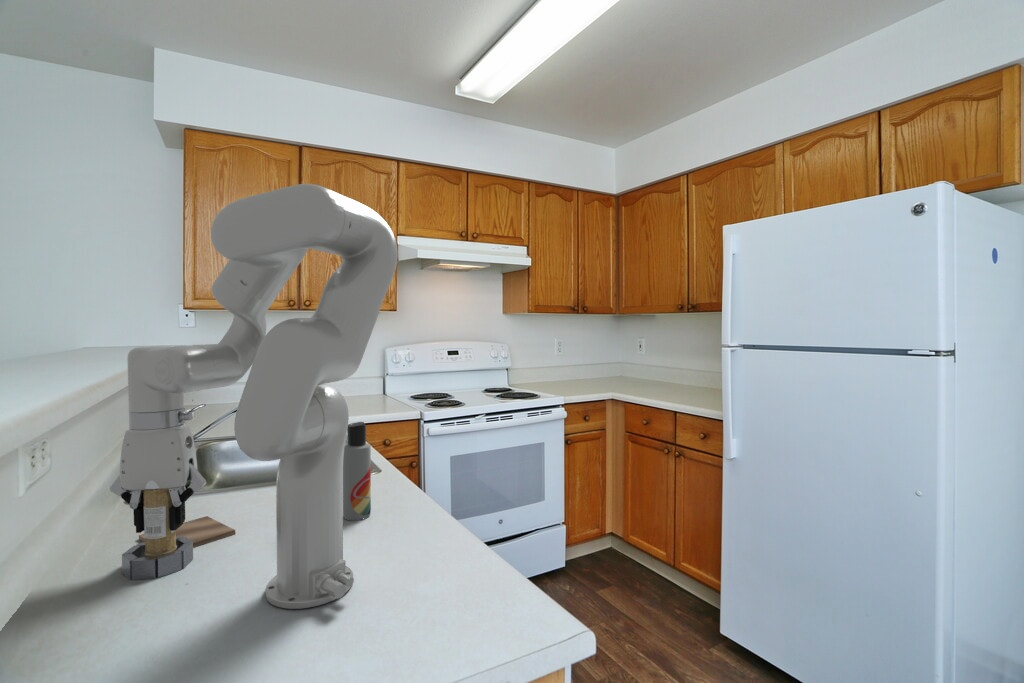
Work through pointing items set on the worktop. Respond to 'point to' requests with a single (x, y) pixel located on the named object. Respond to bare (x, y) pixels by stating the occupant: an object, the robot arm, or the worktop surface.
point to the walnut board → (201, 531)
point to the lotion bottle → (356, 473)
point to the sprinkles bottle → (157, 521)
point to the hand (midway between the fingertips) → (160, 527)
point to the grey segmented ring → (156, 561)
